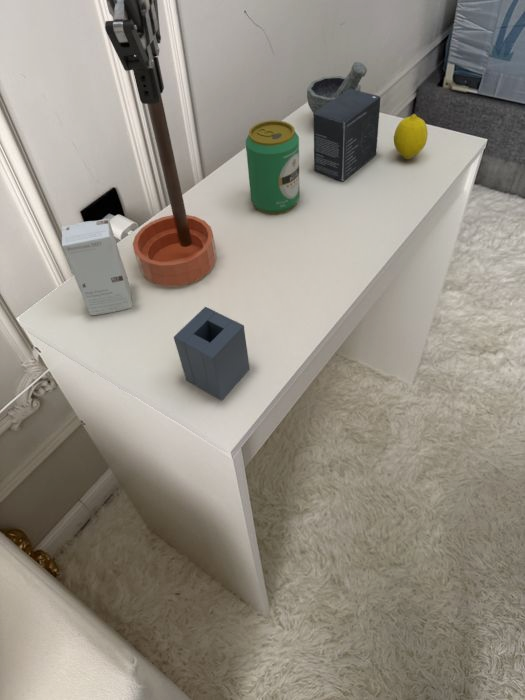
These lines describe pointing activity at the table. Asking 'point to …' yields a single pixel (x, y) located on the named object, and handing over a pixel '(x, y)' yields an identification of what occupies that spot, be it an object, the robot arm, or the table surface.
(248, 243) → the table surface
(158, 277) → the bowl
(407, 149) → the fruit
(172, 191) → the stick
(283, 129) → the beverage can
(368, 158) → the box
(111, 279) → the cosmetic box
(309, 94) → the mortar and pestle
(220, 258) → the table surface
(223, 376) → the holder
